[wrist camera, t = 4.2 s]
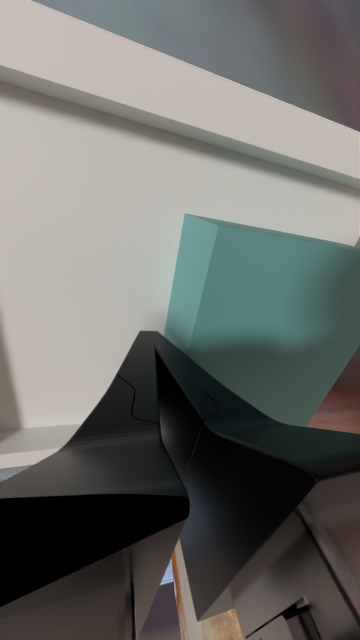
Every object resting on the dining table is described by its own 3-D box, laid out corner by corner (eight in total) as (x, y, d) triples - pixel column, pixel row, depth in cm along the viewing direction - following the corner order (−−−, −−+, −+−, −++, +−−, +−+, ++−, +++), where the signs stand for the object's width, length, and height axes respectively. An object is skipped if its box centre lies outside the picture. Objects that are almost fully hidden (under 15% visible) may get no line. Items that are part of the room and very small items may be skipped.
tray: (259, 412, 18) (273, 435, 17) (-25, 436, 13) (-46, 474, 11) (383, 166, 10) (434, 162, 9) (-204, -43, 5) (-367, -160, 3)
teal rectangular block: (265, 387, 16) (300, 434, 13) (153, 393, 14) (164, 452, 10) (335, 242, 11) (416, 261, 8) (184, 213, 9) (218, 225, 6)
